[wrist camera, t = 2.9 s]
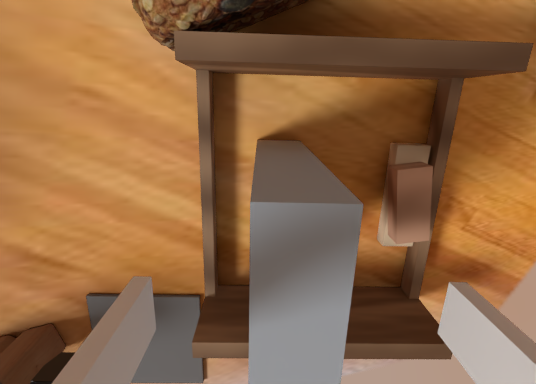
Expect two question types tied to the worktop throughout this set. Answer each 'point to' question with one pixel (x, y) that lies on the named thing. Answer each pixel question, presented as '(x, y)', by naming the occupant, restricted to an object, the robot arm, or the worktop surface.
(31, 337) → the brown long-handled part
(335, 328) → the grey rectangular block
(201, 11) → the bread
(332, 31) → the worktop surface
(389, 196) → the offcut upper
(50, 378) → the robot arm
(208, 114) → the frame
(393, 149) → the offcut lower
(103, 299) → the mat
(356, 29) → the worktop surface
